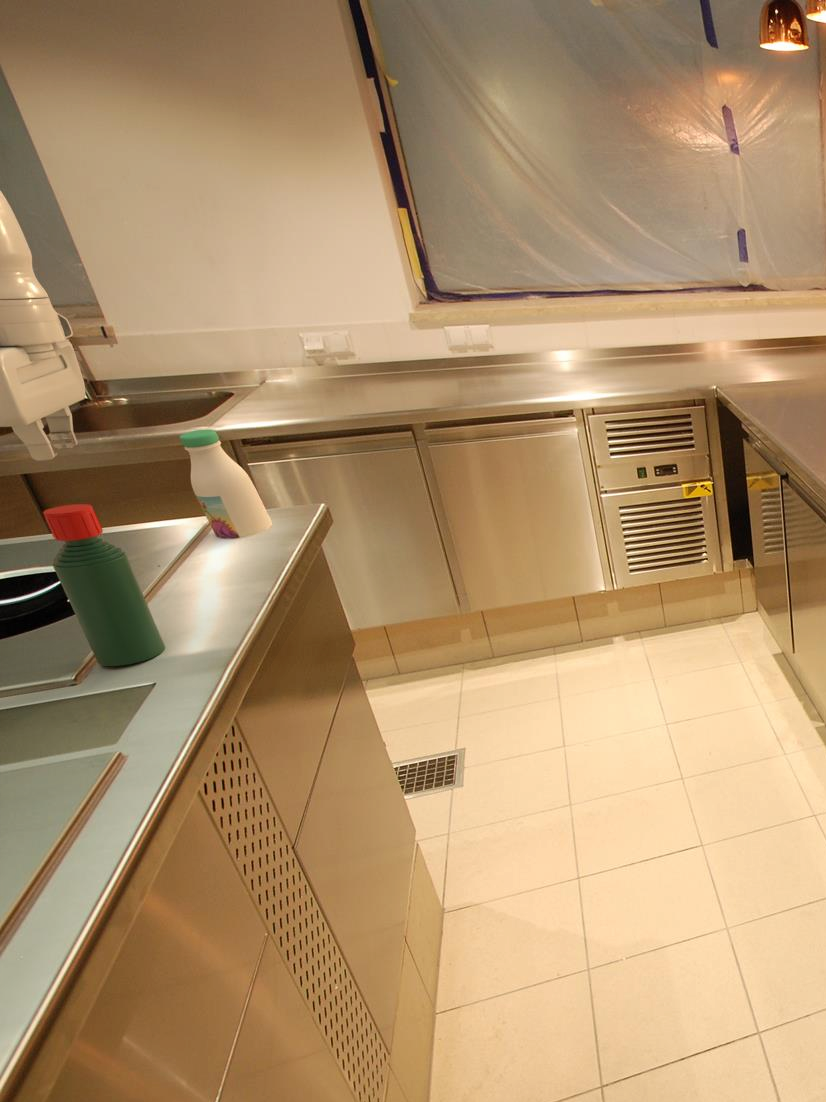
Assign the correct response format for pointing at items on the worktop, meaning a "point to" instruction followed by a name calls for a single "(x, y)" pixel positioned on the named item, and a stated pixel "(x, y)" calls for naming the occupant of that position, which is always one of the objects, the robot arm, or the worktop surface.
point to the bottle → (107, 602)
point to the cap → (73, 522)
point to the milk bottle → (223, 488)
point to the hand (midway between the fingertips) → (56, 453)
